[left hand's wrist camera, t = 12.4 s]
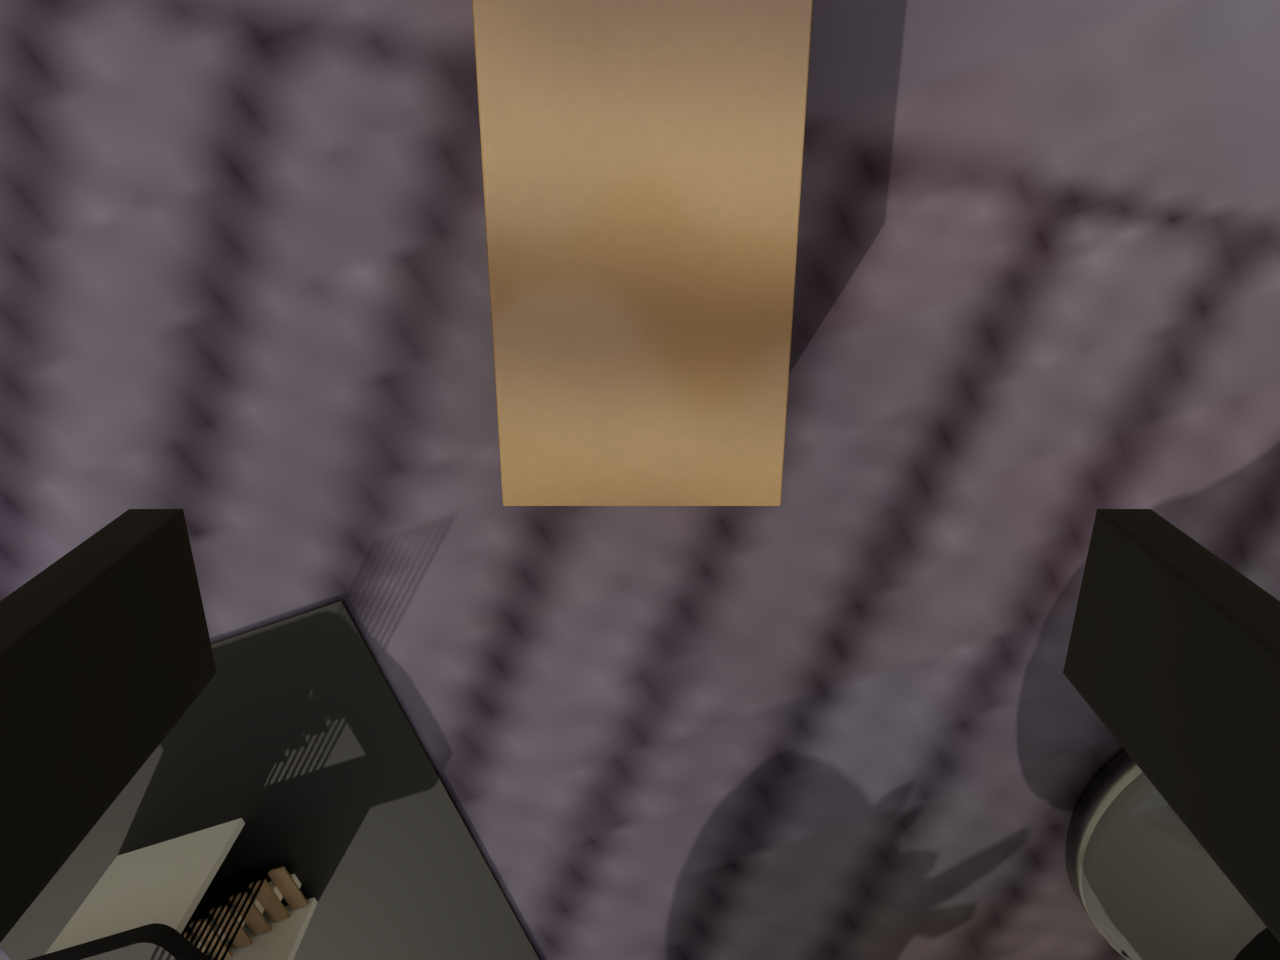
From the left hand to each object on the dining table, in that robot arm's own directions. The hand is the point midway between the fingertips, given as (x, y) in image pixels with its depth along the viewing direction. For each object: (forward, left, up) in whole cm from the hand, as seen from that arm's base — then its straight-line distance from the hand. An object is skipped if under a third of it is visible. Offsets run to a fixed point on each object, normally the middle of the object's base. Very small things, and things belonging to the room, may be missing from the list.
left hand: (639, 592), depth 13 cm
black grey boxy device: (-28, +21, -22) cm, 41 cm away
